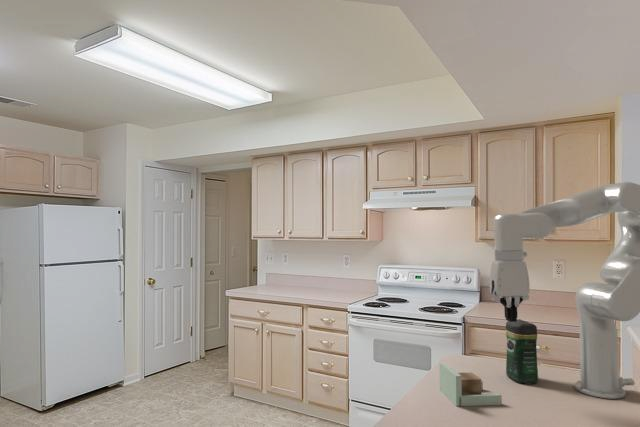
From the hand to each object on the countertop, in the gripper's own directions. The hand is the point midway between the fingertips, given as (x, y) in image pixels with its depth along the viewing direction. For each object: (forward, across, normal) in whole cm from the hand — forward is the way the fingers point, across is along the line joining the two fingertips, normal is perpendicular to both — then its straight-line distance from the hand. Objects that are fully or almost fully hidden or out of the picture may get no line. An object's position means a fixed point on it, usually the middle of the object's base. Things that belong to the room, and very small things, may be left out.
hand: (511, 320), depth 127 cm
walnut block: (+21, +14, 0) cm, 25 cm away
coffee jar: (+22, -10, -13) cm, 27 cm away
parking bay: (+21, +13, 0) cm, 25 cm away
